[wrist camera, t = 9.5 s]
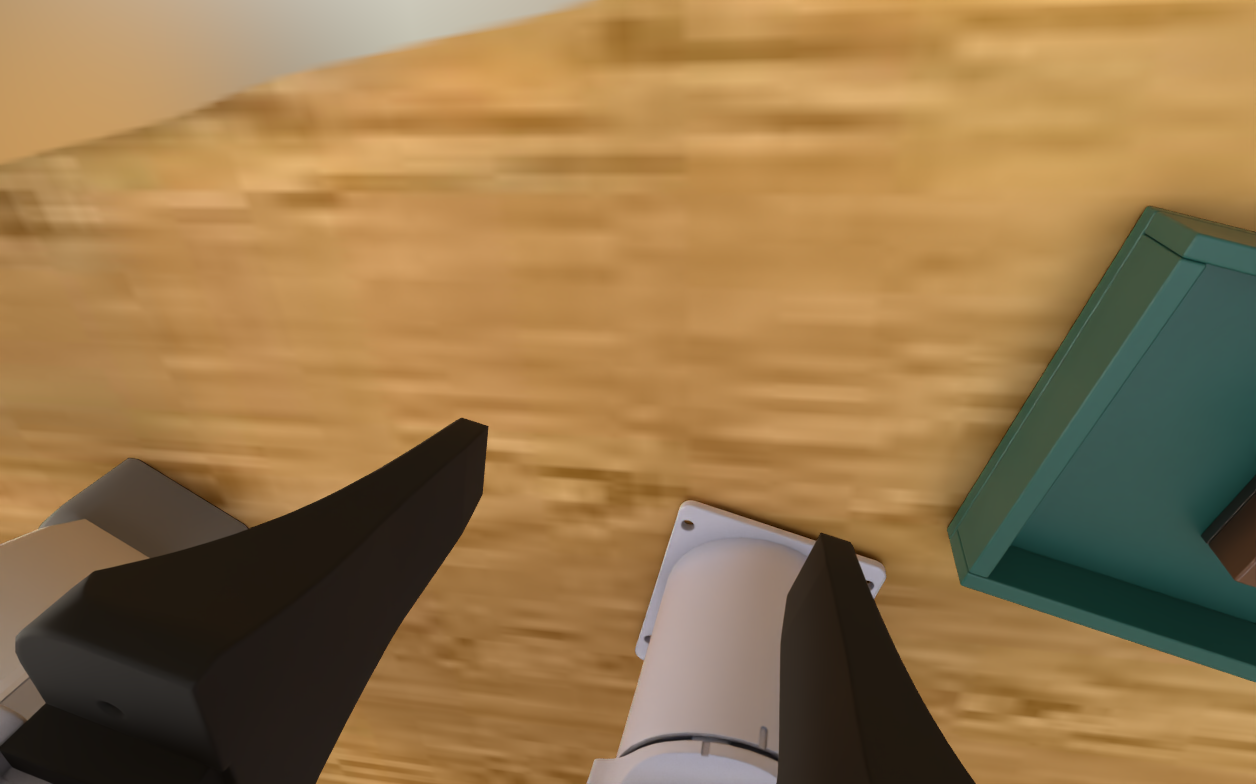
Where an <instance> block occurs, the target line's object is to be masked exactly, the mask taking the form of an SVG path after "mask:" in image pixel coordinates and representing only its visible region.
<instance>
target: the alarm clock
mask: <svg viewBox="0 0 1256 784" xmlns="http://www.w3.org/2000/svg"><path fill="white" fill-rule="evenodd" d="M247 529H248V528H247V527H246V526H245V525H244V524H242V523H241V522H239V521H237V520H236V519H234V518H233V517H231V516H229V515H228V514H226V513H224V512H223V511H221V510H220V509H218V508H216V507H215V506H213V505H211V504H210V503H208V502H206V501H205V500H203V499H202V498H200V497H198V496H197V495H195V494H193V493H192V492H190V491H189V490H187V489H185V488H184V487H182V486H180V485H179V484H177V483H176V482H174V481H172V480H171V479H169V478H167V477H166V476H164V475H163V474H161V473H159V472H158V471H156V470H154V469H153V468H151V467H149V466H148V465H146V464H145V463H143V462H141V461H140V460H138V459H131V458H128V459H127V460H125V461H124V462H122V463H121V464H120V465H118V466H117V467H115V468H114V469H112V470H111V471H110V472H108V473H107V474H105V475H104V476H103V477H101V478H100V479H98V480H97V481H96V482H94V483H93V484H91V485H90V486H89V487H87V488H86V489H84V490H83V491H81V492H80V493H79V494H77V495H76V496H74V497H73V498H72V499H70V500H69V501H67V502H66V503H65V504H63V505H62V506H61V507H60V508H58V509H57V510H56V511H55V512H54V513H53V514H52V515H51V516H50V517H48V518H47V519H46V520H45V521H44V522H43V523H42V524H41V526H40V527H39V528H38V530H35V531H33V532H30V533H28V534H25V535H23V536H20V537H18V538H15V539H13V540H10V541H7V542H5V543H2V544H0V704H2V705H4V706H6V707H8V708H10V709H12V710H14V711H16V712H17V713H19V714H20V715H22V716H23V717H24V718H25V719H26V720H28V719H30V718H31V717H32V716H33V715H34V714H35V713H36V712H37V711H38V710H39V709H40V708H41V707H42V706H43V705H44V704H45V701H44V700H43V698H42V696H41V695H40V693H39V692H38V690H37V689H36V687H35V685H34V684H33V682H32V681H31V679H30V677H29V676H28V674H27V673H26V671H25V670H24V668H23V666H22V665H21V663H20V661H19V659H18V657H17V655H16V653H15V639H16V636H17V635H18V634H19V632H20V631H21V630H23V629H24V628H25V627H26V626H27V625H28V624H30V623H31V622H32V621H33V620H34V619H36V618H37V617H38V616H39V615H40V614H42V613H43V612H44V611H45V610H46V609H48V608H49V607H50V606H51V605H52V604H53V603H55V602H56V601H57V600H58V599H59V598H61V597H62V596H63V595H64V594H65V593H67V592H68V591H69V590H70V589H71V588H73V587H74V586H75V585H76V584H78V583H79V582H80V581H82V580H83V579H84V578H85V577H87V576H88V575H89V574H91V573H92V572H93V571H96V570H101V569H106V568H110V567H115V566H119V565H123V564H127V563H132V562H136V561H140V560H145V559H149V558H153V557H157V556H161V555H165V554H169V553H173V552H177V551H180V550H184V549H187V548H191V547H194V546H197V545H201V544H204V543H208V542H211V541H214V540H217V539H220V538H224V537H227V536H230V535H233V534H236V533H239V532H241V531H244V530H247Z"/></svg>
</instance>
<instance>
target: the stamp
mask: <svg viewBox="0 0 1256 784" xmlns="http://www.w3.org/2000/svg"><path fill="white" fill-rule="evenodd" d="M1201 537H1202V539H1203V540H1204V541H1205V543H1206V544H1208V545H1209V547H1210V548H1211V550H1212V551H1213V552H1214V554H1215V555H1216V556H1217V558H1218V559H1219V560H1220V562H1221V563H1222V564H1223V566H1224V567H1225V568H1226V570H1227V571H1228V572H1229V574H1230V575H1231V577H1232V578H1233V579H1234V580H1235V581H1237V582H1239V583H1243V584H1246V585H1249V586H1252V587H1255V588H1256V475H1255V477H1254V478H1253V479H1252V480H1251V481H1250V482H1249V483H1248V484H1247V485H1246V486H1245V488H1244V489H1243V490H1242V491H1241V492H1240V493H1239V494H1238V495H1237V496H1236V497H1235V499H1234V500H1233V501H1232V502H1231V503H1230V504H1229V505H1228V506H1227V507H1226V508H1225V510H1224V511H1223V512H1222V513H1221V514H1220V515H1219V516H1218V517H1217V518H1216V519H1215V521H1214V522H1213V523H1212V524H1211V525H1210V526H1209V527H1208V528H1207V529H1206V530H1205V532H1204V533H1203V534H1202V535H1201Z"/></svg>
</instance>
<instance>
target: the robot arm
mask: <svg viewBox="0 0 1256 784" xmlns="http://www.w3.org/2000/svg"><path fill="white" fill-rule="evenodd" d="M487 436H488V426H486V425H483V424H480V423H477V422H474V421H471V420H467V419H464V418H460V419H458V420H456V421H455V422H453V423H452V424H450V425H448V426H447V427H445V428H444V429H442V430H441V431H439V432H438V433H436V434H435V435H433V436H432V437H430V438H428V439H427V440H425V441H424V442H422V443H421V444H419V445H417V446H416V447H414V448H413V449H411V450H409V451H408V452H406V453H405V454H403V455H401V456H400V457H398V458H396V459H395V460H393V461H391V462H390V463H388V464H386V465H384V466H383V467H381V468H379V469H378V470H376V471H374V472H372V473H371V474H369V475H367V476H365V477H363V478H361V479H359V480H358V481H356V482H354V483H352V484H350V485H348V486H346V487H344V488H343V489H341V490H339V491H337V492H335V493H333V494H331V495H329V496H327V497H325V498H323V499H320V500H318V501H316V502H314V503H312V504H310V505H307V506H305V507H303V508H301V509H298V510H296V511H294V512H291V513H289V514H287V515H284V516H281V517H279V518H276V519H274V520H271V521H268V522H266V523H263V524H260V525H258V526H255V527H252V528H249V529H247V530H244V531H241V532H239V533H236V534H233V535H230V536H227V537H224V538H220V539H217V540H214V541H211V542H208V543H204V544H201V545H197V546H194V547H191V548H187V549H184V550H180V551H177V552H173V553H169V554H165V555H161V556H157V557H153V558H149V559H145V560H140V561H136V562H132V563H127V564H123V565H119V566H115V567H110V568H106V569H101V570H96V571H93V572H92V573H91V574H89V575H88V576H87V577H85V578H84V579H83V580H82V581H80V582H79V583H78V584H76V585H75V586H74V587H73V588H71V589H70V590H69V591H68V592H67V593H65V594H64V595H63V596H62V597H61V598H59V599H58V600H57V601H56V602H55V603H53V604H52V605H51V606H50V607H49V608H48V609H46V610H45V611H44V612H43V613H42V614H40V615H39V616H38V617H37V618H36V619H34V620H33V621H32V622H31V623H30V624H28V625H27V626H26V627H25V628H24V629H23V630H21V631H20V632H19V634H18V635H17V636H16V639H15V653H16V655H17V657H18V659H19V661H20V663H21V665H22V666H23V668H24V670H25V671H26V673H27V674H28V676H29V677H30V679H31V681H32V682H33V684H34V685H35V687H36V689H37V690H38V692H39V693H40V695H41V696H42V698H43V700H44V701H45V704H44V705H43V706H42V707H41V708H40V709H39V710H38V711H37V712H36V713H35V714H34V715H33V716H32V717H31V718H30V719H28V720H26V719H25V718H24V717H23V716H22V715H20V714H19V713H17V712H16V711H14V710H12V709H10V708H8V707H6V706H4V705H2V704H0V784H316V782H317V780H318V777H319V775H320V773H321V771H322V769H323V767H324V765H325V763H326V761H327V759H328V757H329V755H330V753H331V752H332V750H333V748H334V746H335V744H336V742H337V740H338V738H339V736H340V734H341V732H342V730H343V728H344V726H345V724H346V722H347V720H348V718H349V716H350V714H351V712H352V711H353V709H354V707H355V705H356V703H357V701H358V699H359V697H360V695H361V694H362V692H363V690H364V688H365V686H366V684H367V682H368V680H369V679H370V677H371V675H372V673H373V671H374V669H375V668H376V666H377V664H378V662H379V660H380V659H381V657H382V655H383V653H384V651H385V650H386V648H387V646H388V644H389V642H390V641H391V639H392V637H393V635H394V634H395V632H396V631H397V629H398V627H399V626H400V624H401V623H402V621H403V619H404V618H405V616H406V615H407V614H408V612H409V611H410V609H411V608H412V606H413V605H414V603H415V602H416V600H417V599H418V598H419V596H420V595H421V593H422V592H423V590H424V589H425V587H426V586H427V585H428V583H429V582H430V580H431V579H432V577H433V576H434V574H435V573H436V572H437V570H438V569H439V567H440V566H441V564H442V563H443V561H444V560H445V558H446V557H447V556H448V554H449V553H450V551H451V550H452V548H453V547H454V545H455V544H456V542H457V541H458V539H459V538H460V536H461V535H462V533H463V531H464V529H465V527H466V526H467V524H468V522H469V520H470V518H471V516H472V514H473V512H474V510H475V508H476V506H477V504H478V502H479V500H480V498H481V496H482V494H483V482H484V471H485V459H486V448H487ZM685 520H688V521H691V522H693V524H692V525H691V524H687V523H685V522H684V521H685ZM885 579H886V570H885V567H884V566H883V565H882V563H880V562H878V561H876V560H873V559H870V558H867V557H864V556H861V555H858V554H856V553H855V551H854V548H853V546H852V544H851V542H848V541H845V540H842V539H839V538H836V537H833V536H829V535H826V534H823V533H820V535H819V537H818V539H817V541H815V540H812V539H809V538H806V537H803V536H800V535H797V534H794V533H791V532H788V531H785V530H782V529H779V528H776V527H773V526H770V525H767V524H764V523H761V522H758V521H755V520H752V519H749V518H746V517H743V516H739V515H736V514H733V513H730V512H727V511H724V510H721V509H718V508H715V507H712V506H709V505H706V504H703V503H700V502H697V501H693V500H689V501H685V502H683V503H682V504H681V506H680V509H679V512H678V515H677V518H676V521H675V524H674V528H673V531H672V534H671V537H670V540H669V543H668V547H667V550H666V553H665V556H664V559H663V562H662V566H661V569H660V572H659V575H658V578H657V581H656V585H655V588H654V591H653V594H652V597H651V600H650V604H649V607H648V610H647V613H646V616H645V619H644V623H643V626H642V629H641V632H640V635H639V638H638V642H637V645H636V648H635V653H636V655H637V656H638V657H639V658H641V659H643V660H644V663H643V666H642V670H641V673H640V677H639V680H638V684H637V687H636V690H635V694H634V697H633V701H632V704H631V708H630V711H629V715H628V718H627V722H626V725H625V729H624V732H623V736H622V739H621V742H620V746H619V749H618V753H617V756H616V758H613V759H602V758H597V759H595V760H594V763H593V766H592V769H591V772H590V775H589V778H588V781H587V784H976V783H975V782H974V781H973V779H972V778H971V776H970V775H969V773H968V772H967V771H966V769H965V768H964V766H963V765H962V764H961V762H960V760H959V759H958V757H957V756H956V754H955V753H954V751H953V750H952V748H951V747H950V745H949V744H948V742H947V741H946V739H945V737H944V736H943V734H942V732H941V731H940V729H939V727H938V726H937V724H936V722H935V721H934V719H933V718H932V716H931V714H930V713H929V711H928V709H927V707H926V706H925V704H924V702H923V700H922V698H921V697H920V695H919V693H918V691H917V689H916V687H915V685H914V683H913V682H912V680H911V678H910V676H909V674H908V672H907V670H906V668H905V666H904V664H903V662H902V660H901V658H900V656H899V654H898V652H897V650H896V648H895V646H894V643H893V641H892V639H891V637H890V635H889V633H888V630H887V628H886V626H885V624H884V622H883V619H882V617H881V615H880V613H879V610H878V608H877V606H876V603H875V601H874V598H875V597H876V595H877V593H878V591H879V590H880V588H881V586H882V585H883V583H884V581H885ZM866 580H867V581H871V583H867V581H866Z"/></svg>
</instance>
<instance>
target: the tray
mask: <svg viewBox="0 0 1256 784" xmlns="http://www.w3.org/2000/svg"><path fill="white" fill-rule="evenodd" d="M1255 475H1256V232H1253V231H1249V230H1245V229H1241V228H1237V227H1233V226H1229V225H1225V224H1221V223H1217V222H1213V221H1209V220H1205V219H1201V218H1197V217H1193V216H1189V215H1185V214H1181V213H1177V212H1173V211H1169V210H1165V209H1161V208H1157V207H1153V206H1148V207H1147V208H1146V209H1145V211H1144V212H1143V214H1142V215H1141V217H1140V219H1139V220H1138V222H1137V223H1136V225H1135V227H1134V228H1133V230H1132V232H1131V233H1130V235H1129V236H1128V238H1127V240H1126V241H1125V243H1124V244H1123V246H1122V248H1121V249H1120V251H1119V253H1118V254H1117V256H1116V257H1115V259H1114V261H1113V262H1112V264H1111V265H1110V267H1109V269H1108V270H1107V272H1106V273H1105V275H1104V277H1103V278H1102V280H1101V282H1100V283H1099V285H1098V286H1097V288H1096V290H1095V291H1094V293H1093V294H1092V296H1091V298H1090V299H1089V301H1088V302H1087V304H1086V306H1085V307H1084V309H1083V311H1082V312H1081V314H1080V315H1079V317H1078V319H1077V320H1076V322H1075V323H1074V325H1073V327H1072V328H1071V330H1070V332H1069V333H1068V335H1067V336H1066V338H1065V340H1064V341H1063V343H1062V344H1061V346H1060V348H1059V349H1058V351H1057V352H1056V354H1055V356H1054V357H1053V359H1052V361H1051V362H1050V364H1049V365H1048V367H1047V369H1046V370H1045V372H1044V373H1043V375H1042V377H1041V378H1040V380H1039V382H1038V383H1037V385H1036V386H1035V388H1034V390H1033V391H1032V393H1031V394H1030V396H1029V398H1028V399H1027V401H1026V402H1025V404H1024V406H1023V407H1022V409H1021V411H1020V412H1019V414H1018V415H1017V417H1016V419H1015V420H1014V422H1013V423H1012V425H1011V427H1010V428H1009V430H1008V431H1007V433H1006V435H1005V436H1004V438H1003V440H1002V441H1001V443H1000V444H999V446H998V448H997V449H996V451H995V452H994V454H993V456H992V457H991V459H990V461H989V462H988V464H987V465H986V467H985V469H984V470H983V472H982V473H981V475H980V477H979V478H978V480H977V481H976V483H975V485H974V486H973V488H972V490H971V491H970V493H969V494H968V496H967V498H966V499H965V501H964V502H963V504H962V506H961V507H960V509H959V510H958V512H957V514H956V515H955V517H954V519H953V520H952V522H951V523H950V525H949V527H948V528H947V531H948V535H949V539H950V543H951V548H952V552H953V556H954V560H955V564H956V568H957V572H958V576H959V580H960V584H961V585H962V586H965V587H968V588H971V589H974V590H977V591H980V592H983V593H986V594H989V595H992V596H995V597H998V598H1001V599H1004V600H1007V601H1010V602H1013V603H1016V604H1019V605H1022V606H1025V607H1028V608H1032V609H1035V610H1038V611H1041V612H1044V613H1047V614H1050V615H1053V616H1056V617H1059V618H1062V619H1065V620H1068V621H1071V622H1074V623H1077V624H1080V625H1083V626H1086V627H1089V628H1092V629H1095V630H1098V631H1101V632H1104V633H1107V634H1110V635H1113V636H1117V637H1120V638H1123V639H1126V640H1129V641H1132V642H1135V643H1138V644H1141V645H1144V646H1147V647H1150V648H1153V649H1156V650H1159V651H1162V652H1165V653H1168V654H1171V655H1174V656H1177V657H1180V658H1183V659H1186V660H1189V661H1192V662H1195V663H1198V664H1202V665H1205V666H1208V667H1211V668H1214V669H1217V670H1220V671H1223V672H1226V673H1229V674H1232V675H1235V676H1238V677H1241V678H1244V679H1247V680H1250V681H1253V682H1256V588H1255V587H1252V586H1249V585H1246V584H1243V583H1239V582H1237V581H1235V580H1234V579H1233V578H1232V577H1231V575H1230V574H1229V572H1228V571H1227V570H1226V568H1225V567H1224V566H1223V564H1222V563H1221V562H1220V560H1219V559H1218V558H1217V556H1216V555H1215V554H1214V552H1213V551H1212V550H1211V548H1210V547H1209V545H1208V544H1206V543H1205V541H1204V540H1203V539H1202V537H1201V535H1202V534H1203V533H1204V532H1205V530H1206V529H1207V528H1208V527H1209V526H1210V525H1211V524H1212V523H1213V522H1214V521H1215V519H1216V518H1217V517H1218V516H1219V515H1220V514H1221V513H1222V512H1223V511H1224V510H1225V508H1226V507H1227V506H1228V505H1229V504H1230V503H1231V502H1232V501H1233V500H1234V499H1235V497H1236V496H1237V495H1238V494H1239V493H1240V492H1241V491H1242V490H1243V489H1244V488H1245V486H1246V485H1247V484H1248V483H1249V482H1250V481H1251V480H1252V479H1253V478H1254V477H1255Z"/></svg>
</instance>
